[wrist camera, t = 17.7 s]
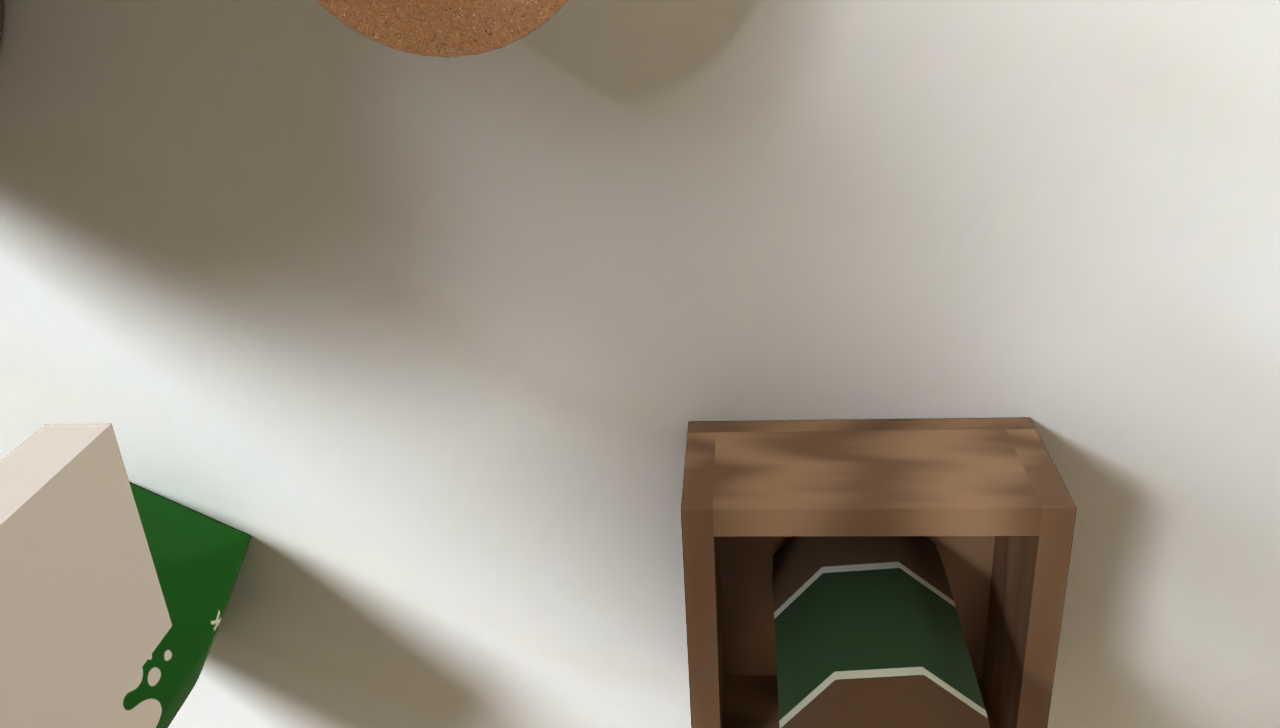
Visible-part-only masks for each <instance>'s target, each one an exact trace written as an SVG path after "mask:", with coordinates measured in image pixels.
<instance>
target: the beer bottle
mask: <svg viewBox="0 0 1280 728" xmlns="http://www.w3.org/2000/svg"><path fill="white" fill-rule="evenodd" d="M772 582H773V603H774V623H775V644H776V665H777V685H778V706H779V727H780V728H990V727H989V721H988V717H987V713H986V710H985V707H984V703H983V700H982V696H981V693H980V689H979V686H978V682H977V679H976V675H975V672H974V669H973V665H972V662H971V658H970V655H969V651H968V648H967V644H966V641H965V637H964V634H963V630H962V627H961V624H960V620H959V617H958V613H957V610H956V606H955V603H954V599H953V596H952V592H951V589H950V586H949V582H948V579H947V575H946V572H945V568H944V565H943V563H942V560H941V558H940V555H939V553H938V550H937V548H936V545H935V543H934V542H932V541H931V540H929V539H928V538H927V537H925V536H792V537H791V538H790V539H789V540H788V541H787V542H786V543H785V544H784V545H783V546H782V547H781V548H780V549H779V550H778V551H777V552H776V553H775V554H774V555H773V575H772Z"/></svg>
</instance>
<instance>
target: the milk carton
mask: <svg viewBox="0 0 1280 728" xmlns="http://www.w3.org/2000/svg"><path fill="white" fill-rule="evenodd" d="M130 486H131V490H132V493H133V496H134V500H135V503H136V506H137V510H138V513H139V516H140V520H141V523H142V526H143V530H144V533H145V536H146V540H147V543H148V546H149V550H150V553H151V556H152V560H153V563H154V566H155V570H156V573H157V576H158V580H159V583H160V586H161V590H162V593H163V596H164V600H165V603H166V606H167V610H168V613H169V616H170V620H171V623H172V627H171V628H170V629H169V631H168V632H167V634H166V635H165V636H164V638H163V639H162V640H161V642H160V643H159V645H158V646H157V647H156V649H155V650H154V651H153V653H152V654H151V655H150V657H149V658H148V660H147V661H146V662H145V664H144V665H143V666H142V668H141V669H140V671H139V672H138V673H137V675H136V676H135V677H134V679H133V680H132V682H131V683H130V684H129V686H128V687H127V688H126V690H125V691H124V692H123V694H122V695H121V697H120V698H119V699H118V701H117V702H116V703H115V705H114V706H113V708H112V709H111V710H110V712H109V713H108V714H107V716H106V717H105V719H104V720H103V721H102V723H101V724H100V725H99V727H98V728H168V726H169V725H170V723H171V722H172V720H173V719H174V717H175V715H176V714H177V712H178V711H179V709H180V708H181V706H182V705H183V703H184V702H185V700H186V698H187V697H188V695H189V694H190V692H191V690H192V689H193V687H194V685H195V684H196V682H197V680H198V678H199V676H200V673H201V671H202V668H203V666H204V663H205V661H206V658H207V656H208V653H209V651H210V648H211V646H212V644H213V641H214V639H215V636H216V634H217V631H218V628H219V625H220V623H221V620H222V617H223V614H224V612H225V609H226V606H227V603H228V600H229V598H230V595H231V592H232V589H233V586H234V584H235V581H236V578H237V575H238V572H239V569H240V567H241V564H242V561H243V558H244V555H245V553H246V550H247V547H248V544H249V541H250V538H251V536H249V535H247V534H245V533H242V532H240V531H238V530H236V529H233V528H231V527H229V526H227V525H224V524H222V523H220V522H217V521H215V520H213V519H211V518H208V517H206V516H204V515H202V514H199V513H197V512H195V511H192V510H190V509H188V508H186V507H183V506H181V505H179V504H177V503H174V502H172V501H170V500H167V499H165V498H163V497H161V496H158V495H156V494H154V493H152V492H149V491H147V490H145V489H143V488H140V487H138V486H136V485H133V484H131V483H130Z"/></svg>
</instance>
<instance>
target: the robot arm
mask: <svg viewBox="0 0 1280 728" xmlns="http://www.w3.org/2000/svg"><path fill="white" fill-rule="evenodd" d="M2 22H3V0H0V39H1V32H2ZM171 627H172V623H171V620H170V616H169V613H168V610H167V606H166V603H165V600H164V596H163V593H162V590H161V586H160V583H159V580H158V576H157V573H156V570H155V566H154V563H153V560H152V556H151V553H150V550H149V546H148V543H147V540H146V536H145V533H144V530H143V526H142V523H141V520H140V516H139V513H138V510H137V506H136V503H135V500H134V496H133V493H132V490H131V486H130V483H129V480H128V476H127V473H126V470H125V466H124V463H123V460H122V456H121V453H120V450H119V446H118V443H117V440H116V436H115V433H114V430H113V426H112V423H102V424H45V425H44V426H43V427H42V428H40V429H39V430H38V431H37V432H36V433H34V434H33V435H32V436H31V437H30V438H28V439H27V440H26V441H25V442H23V443H22V444H21V445H20V446H19V447H17V448H16V449H15V450H14V451H13V452H11V453H10V454H9V455H8V456H7V457H5V458H4V459H3V460H2V461H1V462H0V728H98V727H99V725H100V724H101V723H102V721H103V720H104V719H105V717H106V716H107V714H108V713H109V712H110V710H111V709H112V708H113V706H114V705H115V703H116V702H117V701H118V699H119V698H120V697H121V695H122V694H123V692H124V691H125V690H126V688H127V687H128V686H129V684H130V683H131V682H132V680H133V679H134V677H135V676H136V675H137V673H138V672H139V671H140V669H141V668H142V666H143V665H144V664H145V662H146V661H147V660H148V658H149V657H150V655H151V654H152V653H153V651H154V650H155V649H156V647H157V646H158V645H159V643H160V642H161V640H162V639H163V638H164V636H165V635H166V634H167V632H168V631H169V629H170V628H171Z"/></svg>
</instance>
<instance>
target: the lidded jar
mask: <svg viewBox="0 0 1280 728" xmlns="http://www.w3.org/2000/svg"><path fill="white" fill-rule="evenodd" d="M317 1H318V2H319V3H320V4H321V5H322V6H323V7H324V8H325V9H326V10H328V11H329V12H330V13H331V14H333V15H334V16H335V17H336V18H338V19H339V20H340V21H341V22H343V23H344V24H345V25H347V26H348V27H350V28H352V29H354V30H355V31H357V32H359V33H361V34H362V35H364V36H366V37H367V38H369V39H371V40H373V41H376V42H379V43H381V44H384V45H386V46H389V47H391V48H394V49H396V50H400V51H405V52H409V53H414V54H418V55H423V56H438V57H457V56H466V55H476V54H479V53H483V52H487V51H490V50H494V49H498V48H501V47H503V46H505V45H508V44H510V43H512V42H514V41H516V40H518V39H520V38H522V37H525V36H526V35H528V34H529V33H530V32H532V31H533V30H535V29H536V28H538V27H539V26H541V25H542V24H543V23H545V22H546V21H548V20H549V19H550V18H551V17H552V16H553V15H554V14H555V13H556V12H557V11H558V10H559V9H560V8H561V7H562V6H563V5H564V4H565V3H566V2H567V1H568V0H317Z"/></svg>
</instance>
